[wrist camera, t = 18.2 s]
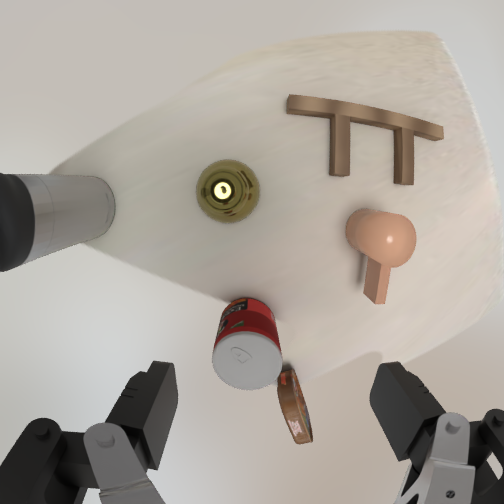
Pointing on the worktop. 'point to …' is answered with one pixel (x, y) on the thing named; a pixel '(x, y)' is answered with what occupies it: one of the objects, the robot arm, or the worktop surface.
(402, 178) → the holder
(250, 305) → the canned food
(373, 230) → the tan paddle shape
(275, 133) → the worktop surface
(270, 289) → the worktop surface
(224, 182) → the brass doorknob
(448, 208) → the worktop surface
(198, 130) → the worktop surface
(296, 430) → the tin
